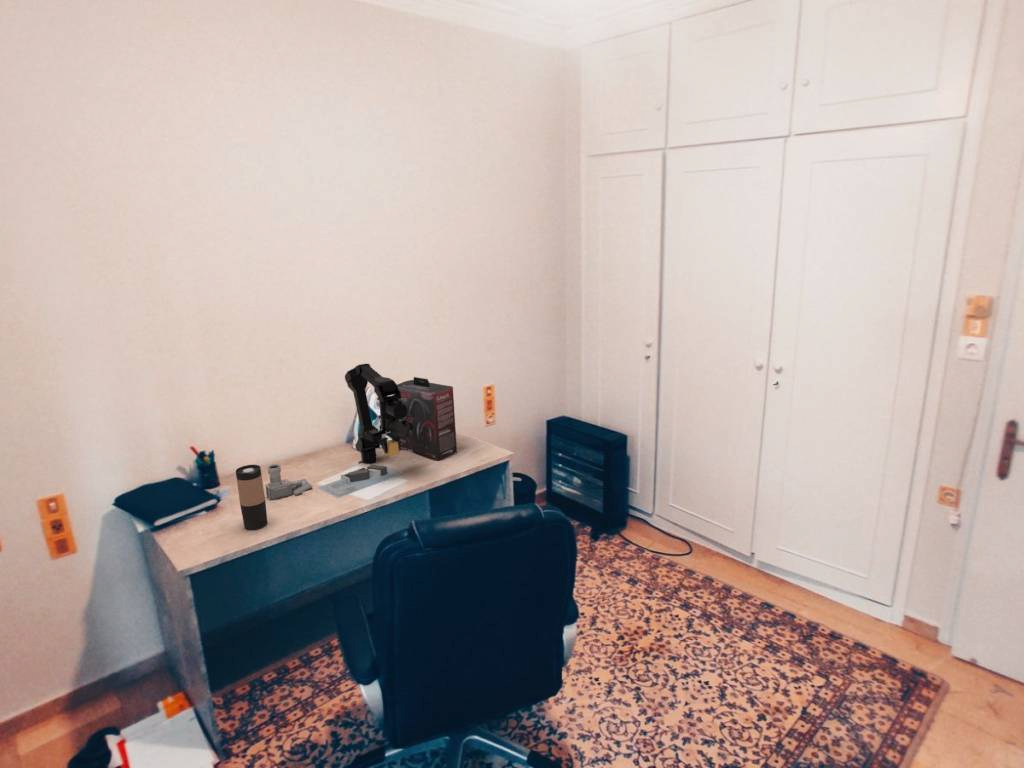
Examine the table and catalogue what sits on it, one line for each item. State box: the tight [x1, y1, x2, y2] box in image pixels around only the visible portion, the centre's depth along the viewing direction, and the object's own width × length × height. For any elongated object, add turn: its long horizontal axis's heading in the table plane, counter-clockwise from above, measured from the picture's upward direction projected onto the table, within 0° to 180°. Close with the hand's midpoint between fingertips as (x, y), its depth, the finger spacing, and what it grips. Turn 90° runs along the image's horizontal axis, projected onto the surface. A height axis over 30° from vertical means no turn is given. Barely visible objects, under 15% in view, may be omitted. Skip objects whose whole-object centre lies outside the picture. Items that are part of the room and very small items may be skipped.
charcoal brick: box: [348, 468, 369, 483], centre depth 236 cm, size 3×7×3 cm, turn 114°
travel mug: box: [235, 464, 268, 531], centre depth 201 cm, size 8×8×20 cm
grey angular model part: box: [265, 463, 313, 501], centre depth 227 cm, size 9×12×15 cm
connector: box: [383, 439, 400, 458], centre depth 237 cm, size 4×4×5 cm
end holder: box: [326, 480, 356, 496], centre depth 227 cm, size 8×7×2 cm
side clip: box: [340, 467, 371, 485], centre depth 236 cm, size 5×10×2 cm, turn 136°
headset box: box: [394, 376, 458, 461], centre depth 262 cm, size 25×12×33 cm, turn 53°
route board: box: [317, 464, 404, 499], centre depth 235 cm, size 14×29×4 cm, turn 136°
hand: (391, 451), depth 237 cm, fingers closed on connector, 4 cm apart
